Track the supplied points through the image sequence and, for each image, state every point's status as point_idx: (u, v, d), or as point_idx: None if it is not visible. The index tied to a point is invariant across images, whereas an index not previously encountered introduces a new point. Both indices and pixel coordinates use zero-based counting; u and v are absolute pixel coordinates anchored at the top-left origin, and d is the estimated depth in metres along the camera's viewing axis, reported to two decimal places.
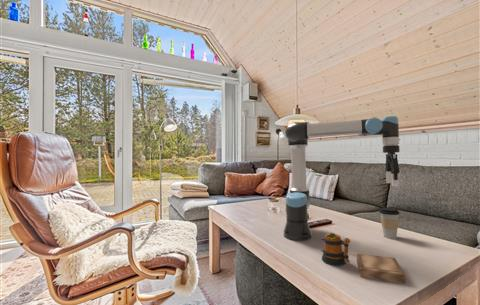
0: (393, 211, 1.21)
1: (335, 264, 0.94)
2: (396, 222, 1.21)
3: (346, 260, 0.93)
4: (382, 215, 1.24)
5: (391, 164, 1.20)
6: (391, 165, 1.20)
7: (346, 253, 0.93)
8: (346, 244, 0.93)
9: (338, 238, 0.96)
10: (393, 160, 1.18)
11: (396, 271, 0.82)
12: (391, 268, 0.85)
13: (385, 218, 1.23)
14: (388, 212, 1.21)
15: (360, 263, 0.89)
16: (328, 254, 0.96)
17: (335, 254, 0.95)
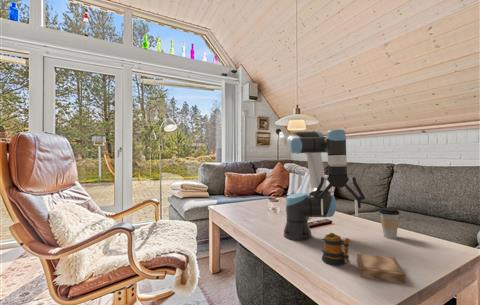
0: (393, 211, 1.21)
1: (335, 264, 0.94)
2: (396, 222, 1.21)
3: (346, 260, 0.93)
4: (382, 215, 1.24)
5: (325, 188, 1.02)
6: (324, 189, 1.02)
7: (346, 253, 0.93)
8: (346, 244, 0.93)
9: (338, 238, 0.96)
10: (319, 183, 1.02)
11: (396, 271, 0.82)
12: (391, 268, 0.85)
13: (385, 218, 1.23)
14: (388, 212, 1.21)
15: (360, 263, 0.89)
16: (328, 254, 0.96)
17: (335, 254, 0.95)
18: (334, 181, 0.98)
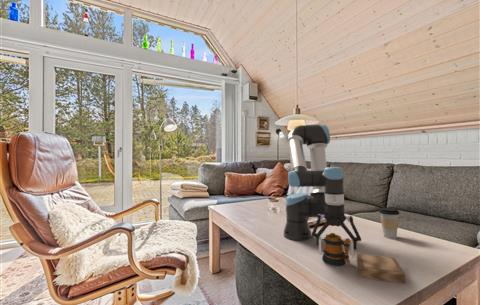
0: (393, 211, 1.21)
1: (335, 264, 0.94)
2: (396, 222, 1.21)
3: (346, 260, 0.93)
4: (382, 215, 1.24)
5: None
6: (322, 227, 1.01)
7: (346, 253, 0.93)
8: (346, 244, 0.93)
9: (339, 238, 0.96)
10: None
11: (396, 271, 0.82)
12: (391, 268, 0.85)
13: (385, 218, 1.23)
14: (388, 212, 1.21)
15: (360, 263, 0.89)
16: (328, 254, 0.96)
17: (335, 254, 0.95)
18: (331, 220, 0.97)
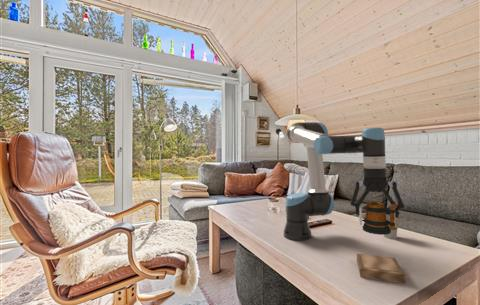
0: None
1: (380, 233, 0.86)
2: (396, 222, 1.21)
3: (393, 228, 0.84)
4: None
5: None
6: (361, 195, 0.93)
7: (392, 220, 0.84)
8: (392, 210, 0.84)
9: (382, 205, 0.88)
10: None
11: (396, 271, 0.82)
12: (391, 268, 0.85)
13: None
14: (388, 212, 1.21)
15: (360, 263, 0.89)
16: (371, 222, 0.88)
17: (379, 222, 0.86)
18: (371, 185, 0.88)
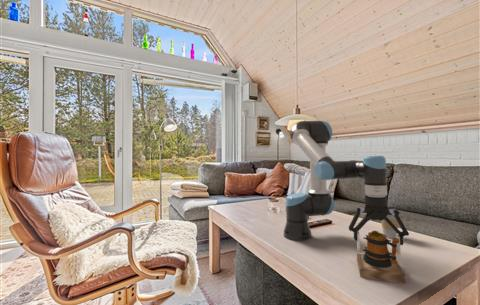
0: None
1: (381, 265, 0.85)
2: (396, 222, 1.21)
3: (394, 262, 0.84)
4: None
5: (361, 220, 0.92)
6: (360, 221, 0.93)
7: (394, 254, 0.84)
8: (394, 244, 0.83)
9: (384, 237, 0.87)
10: (355, 214, 0.93)
11: (396, 271, 0.82)
12: (391, 268, 0.85)
13: None
14: None
15: (360, 263, 0.89)
16: (372, 254, 0.87)
17: (380, 255, 0.86)
18: (373, 213, 0.88)
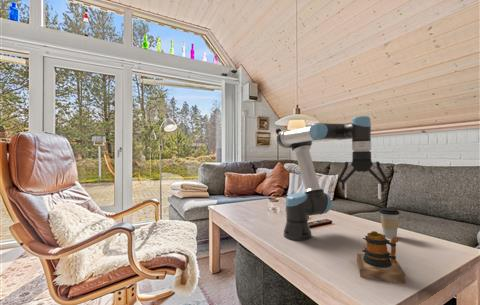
0: (393, 211, 1.21)
1: (380, 265, 0.85)
2: (396, 222, 1.21)
3: (393, 261, 0.84)
4: (382, 215, 1.24)
5: None
6: None
7: (393, 254, 0.84)
8: (393, 244, 0.84)
9: (383, 237, 0.87)
10: None
11: (396, 271, 0.82)
12: (391, 268, 0.85)
13: (385, 218, 1.23)
14: (388, 212, 1.21)
15: (360, 263, 0.89)
16: (372, 254, 0.88)
17: (380, 254, 0.86)
18: (358, 165, 1.03)
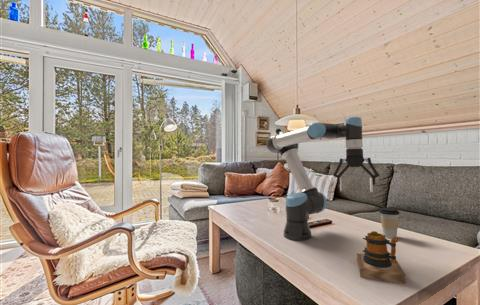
0: (393, 211, 1.21)
1: (380, 265, 0.85)
2: (396, 222, 1.21)
3: (393, 261, 0.84)
4: (382, 215, 1.24)
5: None
6: None
7: (393, 254, 0.84)
8: (393, 244, 0.84)
9: (383, 237, 0.87)
10: None
11: (396, 271, 0.82)
12: (391, 268, 0.85)
13: (385, 218, 1.23)
14: (388, 212, 1.21)
15: (360, 263, 0.89)
16: (372, 254, 0.88)
17: (380, 254, 0.86)
18: (351, 161, 1.14)
